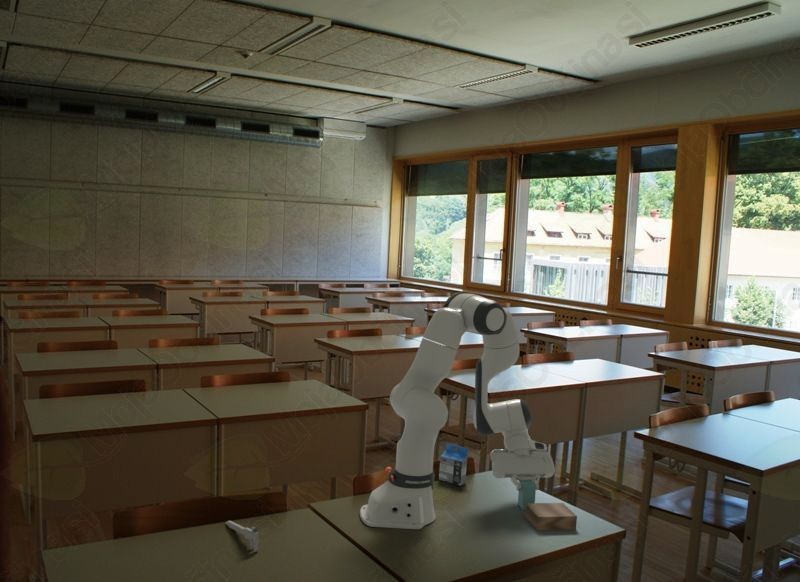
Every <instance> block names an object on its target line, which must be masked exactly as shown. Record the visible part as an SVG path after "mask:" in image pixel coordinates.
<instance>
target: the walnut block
mask: <svg viewBox="0 0 800 582" xmlns="http://www.w3.org/2000/svg"><path fill="white" fill-rule="evenodd" d="M524 513H525V514H524V517H525V518H526V519H527V521H528V522H529V523H530V522H531V523H530V524H531V525H532V526H533V527H534V528H535V529H536V531H563V530H565V531H566V530H567V531H568V530H569V529H570V530H571V531H572V530H577V521H578V515H576V514H575V513H574V512H573V511H572V510H571V509H570V508H569V507H568V506H567V505H566V504H565V503H563V502H542V503H541V502H535V503H530V504H526V509H525V512H524Z"/></svg>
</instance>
